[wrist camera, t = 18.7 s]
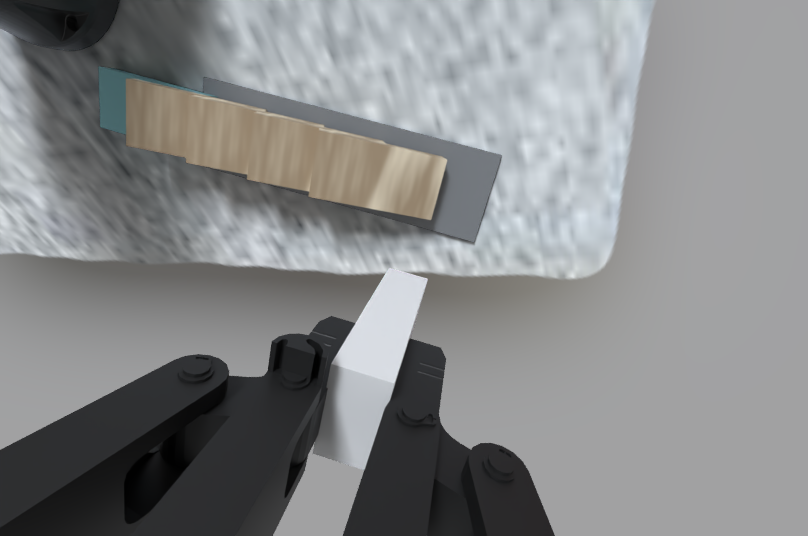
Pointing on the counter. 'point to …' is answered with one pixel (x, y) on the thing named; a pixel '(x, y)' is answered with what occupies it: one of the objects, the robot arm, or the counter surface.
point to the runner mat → (464, 168)
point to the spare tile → (120, 96)
